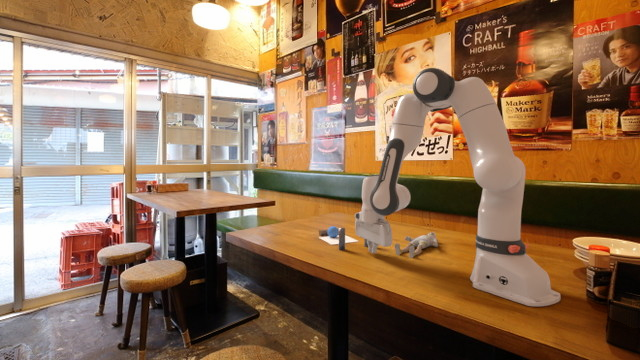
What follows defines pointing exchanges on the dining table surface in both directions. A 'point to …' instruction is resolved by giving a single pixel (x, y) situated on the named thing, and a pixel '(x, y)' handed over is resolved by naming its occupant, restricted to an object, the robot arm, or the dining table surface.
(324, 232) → the strip
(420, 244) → the figurine
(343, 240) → the post left
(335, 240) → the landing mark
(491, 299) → the dining table surface
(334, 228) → the ball
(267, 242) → the dining table surface
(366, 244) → the post right
